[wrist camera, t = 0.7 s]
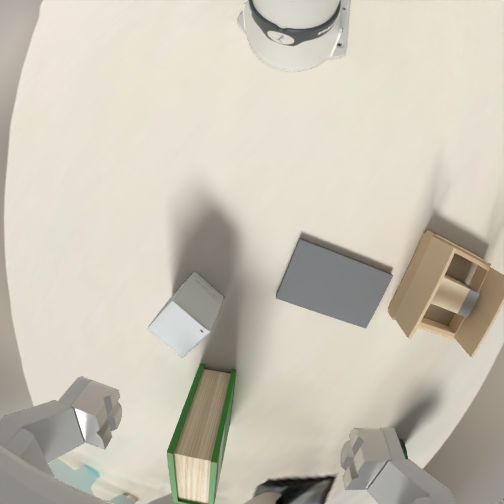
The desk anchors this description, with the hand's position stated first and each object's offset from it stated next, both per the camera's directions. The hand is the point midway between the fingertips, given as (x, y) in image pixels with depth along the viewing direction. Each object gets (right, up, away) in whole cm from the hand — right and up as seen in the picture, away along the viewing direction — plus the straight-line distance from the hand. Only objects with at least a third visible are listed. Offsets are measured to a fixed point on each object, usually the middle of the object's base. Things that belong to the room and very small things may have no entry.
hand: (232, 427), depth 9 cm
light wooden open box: (+36, 0, +43) cm, 56 cm away
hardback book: (-7, -25, +54) cm, 60 cm away
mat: (+15, 0, +44) cm, 47 cm away
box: (+36, 0, +43) cm, 56 cm away
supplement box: (-9, -2, +47) cm, 48 cm away
